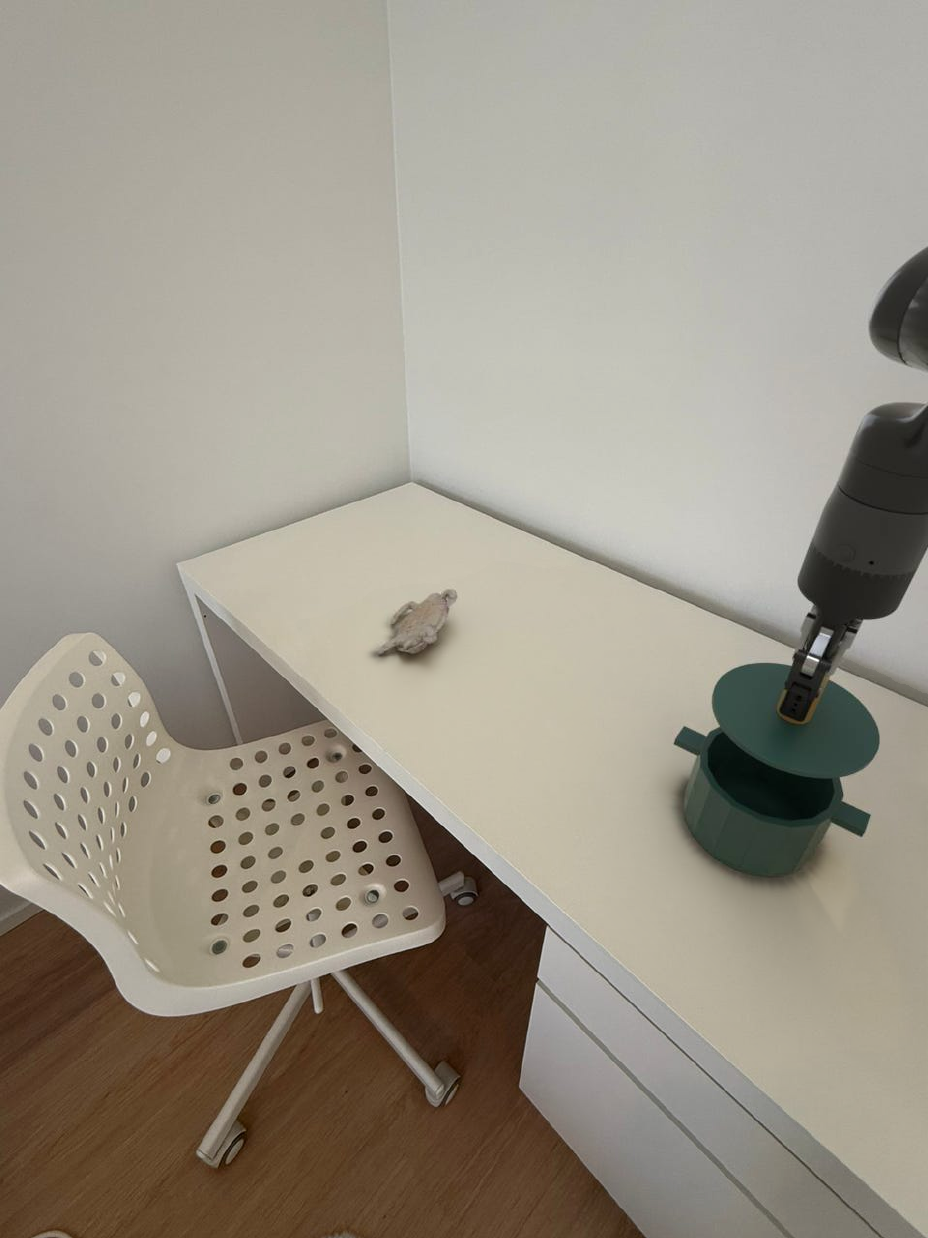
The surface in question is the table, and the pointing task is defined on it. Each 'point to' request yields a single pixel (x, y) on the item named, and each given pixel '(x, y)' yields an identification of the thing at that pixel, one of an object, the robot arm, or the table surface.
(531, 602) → the table surface
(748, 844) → the green cooking pot
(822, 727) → the lid
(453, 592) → the turtle
